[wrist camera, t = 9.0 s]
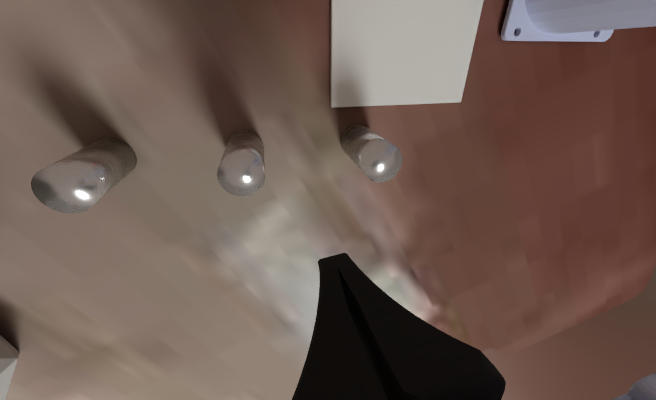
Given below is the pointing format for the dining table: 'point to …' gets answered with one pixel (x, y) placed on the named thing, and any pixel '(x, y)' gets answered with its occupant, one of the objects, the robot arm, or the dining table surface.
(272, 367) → the dining table surface
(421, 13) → the mat
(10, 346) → the die
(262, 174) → the spacer field
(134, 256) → the dining table surface
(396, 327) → the robot arm
